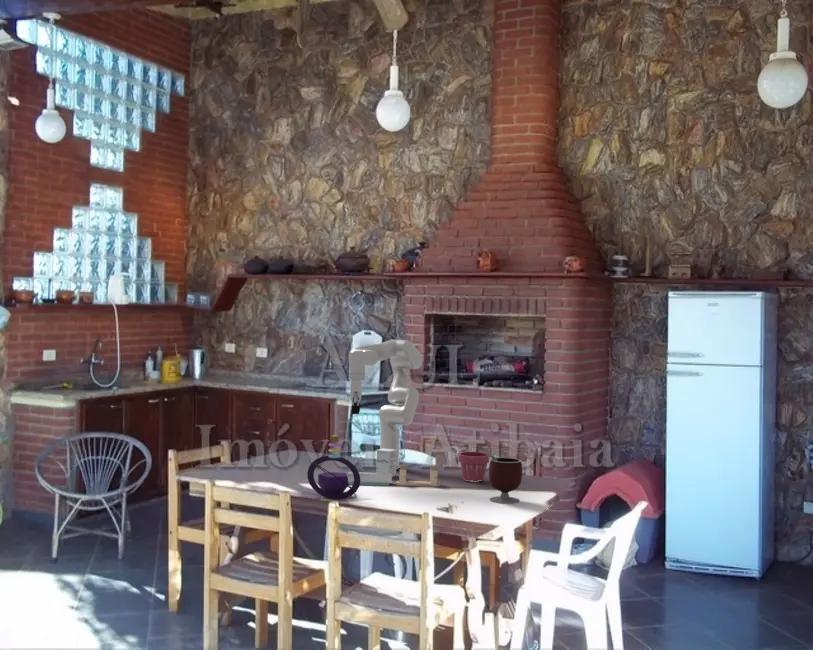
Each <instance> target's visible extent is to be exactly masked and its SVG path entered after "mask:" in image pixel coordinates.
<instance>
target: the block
mask: <svg viewBox="0 0 813 650" xmlns="http://www.w3.org/2000/svg"><path fill="white" fill-rule="evenodd" d="M358 472H359V474H360V483H389V484H392V481H393V480H392V479H393V477H392V473H376V472H371V471H370V472H368V471H367V472H365V471H364V472H362V471H358ZM346 475H347V477H348V482H354V475H353V473H352V471H348V472H346Z"/></svg>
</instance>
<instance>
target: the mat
mask: <svg viewBox="0 0 813 650" xmlns="http://www.w3.org/2000/svg"><path fill="white" fill-rule="evenodd" d="M353 483H354V482H349V486H351V485H353ZM360 486H385V487H386V486H388V487H389V486H390V483H360Z"/></svg>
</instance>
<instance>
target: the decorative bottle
mask: <svg viewBox="0 0 813 650" xmlns="http://www.w3.org/2000/svg"><path fill="white" fill-rule="evenodd" d="M339 439H340V435H337V434H335V435H334V434H333V435H330V442H329V443H328V444H327V445H328V446H329V447H331V448H329V449H328V450H327V452H329V453H330V454H329V455H324V456H322V455H321V456H320V457H318V458H315V459H314V460H313V461H312V462H311V463H310V465H309V466H308V469H307V480H308V484H309V485H310V486H311V488H312V490H314V491H315V493H317V494H318V495H320V496H322V497H324V498H327V499H330V500H343V499H347V498H350V497H352V496H353V495H354V494H355V493H357V491H358V490H359V488H360V486H361V485H360V474H359V472H360V471H359V469H357V467H356V466H355V464H354V463H352V462H351V461H350V460H349V459H347V458H344V457H342V456H341V455H340V454H338V453H341V452H342V451H341V449H340V448H336V447H341V446H342V444H341V443H339V442H340V441H339ZM333 447H334V448H333ZM329 461H333V462H334V461H336V462H339V463H341V464H343V465H345V466H346V467H347V468H349V471H350V472H352V473H353V475H354V483H353V485H352V486H351V485H349V482H348V477H347V472H346V470H347V469H346V470H345V472H342V471H343V470H342V471H341V472H334V471H328V470H327V469H325V468H324V467H322V466H321V465H320V464H321V463H324V462H329ZM317 468H318V469H320V470H321V471H322V473H319V474H318V475H317V477H318V478H317V483H316V480H315V475H314V474H315V470H316V469H317ZM347 488H349V489H347Z"/></svg>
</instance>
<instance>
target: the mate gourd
mask: <svg viewBox="0 0 813 650" xmlns="http://www.w3.org/2000/svg"><path fill="white" fill-rule="evenodd" d="M485 453H486V455H489V466H488V478H489V483H490V485H491V486H492V488H494V489H495V490H497V491H499V492H500V493H501V494H500V495H499V496H496V495H495V496H492V497H490V498H489V501H490V502H493V503H496V504H503V505H508V504H510V505H511V504H512V505H513V504H515V505H516V504H519V503H520V499H519V498H517V497H512V496H510V495H509V493H510V492H512V491H514V490H517V489H518V488H519V486H520V485H521V484H522V483H521V482H522V479H523V464H522V460H521V459H520V458H514V457H496V456H495V455H492V454H491V453H488V452H485Z"/></svg>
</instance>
